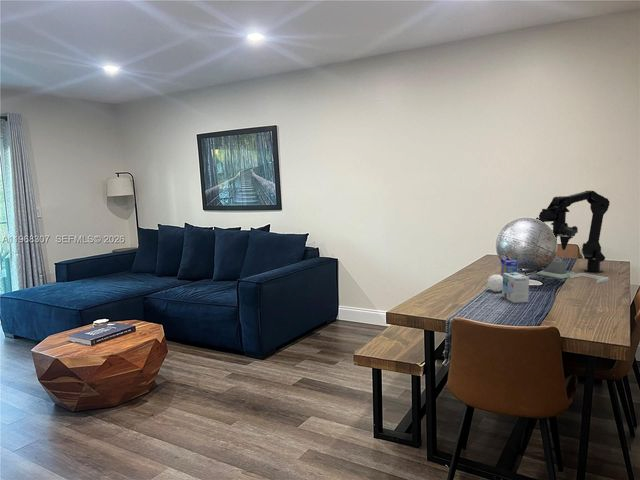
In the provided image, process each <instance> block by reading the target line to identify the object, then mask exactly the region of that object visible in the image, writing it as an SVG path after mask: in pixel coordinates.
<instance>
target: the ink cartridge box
mask: <svg viewBox="0 0 640 480" xmlns="http://www.w3.org/2000/svg"><path fill="white" fill-rule="evenodd" d="M509 258H510V257H509V256H508V255H507V254H505V257H501V258H500V276H502V277H503V273H514V272H517V273H519V272H518V271H519V270H518V261H517V260H516V259H514V258H512V259H509ZM513 259H514V260H513Z"/></svg>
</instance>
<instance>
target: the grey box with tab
mask: <svg viewBox="0 0 640 480" xmlns="http://www.w3.org/2000/svg"><path fill="white" fill-rule="evenodd" d="M553 260H554V261H553V262H552V263H551V264H550V265H549V266H548V267H547V268H546V269H544V268H543V269H544V272H550V273H555V274H560V275H562V274H566V271H567V261H564V260H562V258H561V257H555V259H553Z"/></svg>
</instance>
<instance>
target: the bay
mask: <svg viewBox="0 0 640 480" xmlns="http://www.w3.org/2000/svg"><path fill="white" fill-rule="evenodd" d="M579 277H584V278H585V277H586V278H590V279H596V282H595V283H596V284H601V283H606V282H609V281H610V277H606V276H601V275H595V274H589V273H584V272H580V273H575V274H574V275H570V277H569V279H573V278H579Z"/></svg>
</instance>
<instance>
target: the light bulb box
mask: <svg viewBox="0 0 640 480" xmlns="http://www.w3.org/2000/svg"><path fill="white" fill-rule="evenodd" d="M529 286H530V277H529V276H528V275H527V276H526V275H524V274H521V273H520V272H518V273H517V272H514V273H503V286H502V291H501V297H503V298H504V299H506V300H508V301H510V302H511V303H514V304H515V303H516V304H517V303H518V304H520V303H528V302H529V291H530V290H529V289H530V287H529Z"/></svg>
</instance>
